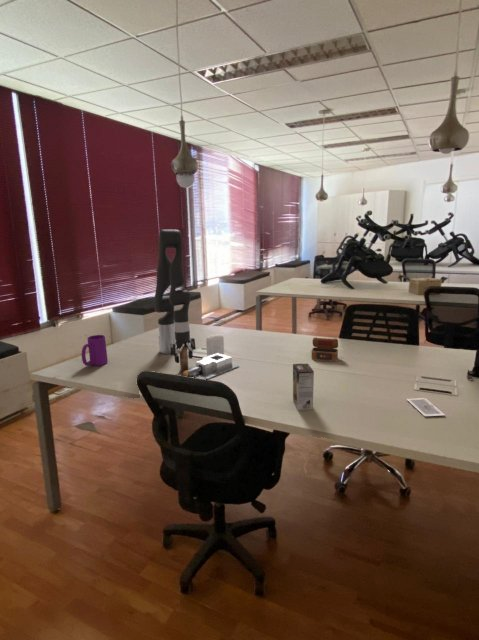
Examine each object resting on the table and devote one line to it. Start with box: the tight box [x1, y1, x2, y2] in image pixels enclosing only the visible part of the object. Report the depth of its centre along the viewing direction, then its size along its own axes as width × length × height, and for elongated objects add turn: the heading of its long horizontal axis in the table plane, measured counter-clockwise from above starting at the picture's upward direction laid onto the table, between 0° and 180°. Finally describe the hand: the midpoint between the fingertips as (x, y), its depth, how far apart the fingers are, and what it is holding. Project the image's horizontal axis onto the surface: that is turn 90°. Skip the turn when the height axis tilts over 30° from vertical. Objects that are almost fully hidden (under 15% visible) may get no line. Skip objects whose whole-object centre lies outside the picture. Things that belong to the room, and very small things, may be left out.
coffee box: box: [292, 363, 315, 411], centre depth 154 cm, size 9×6×16 cm
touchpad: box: [406, 397, 446, 417], centre depth 150 cm, size 8×15×2 cm, turn 2°
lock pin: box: [182, 366, 202, 377], centre depth 191 cm, size 3×13×3 cm, turn 137°
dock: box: [178, 353, 240, 380], centre depth 198 cm, size 18×25×5 cm
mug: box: [81, 334, 109, 367], centre depth 208 cm, size 9×16×15 cm, turn 156°
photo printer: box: [205, 333, 225, 357], centre depth 218 cm, size 10×4×12 cm, turn 123°
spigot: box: [179, 347, 189, 371], centre depth 199 cm, size 4×4×12 cm
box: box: [311, 336, 339, 362], centre depth 209 cm, size 28×28×12 cm
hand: (184, 360), depth 199 cm, fingers open, 8 cm apart
